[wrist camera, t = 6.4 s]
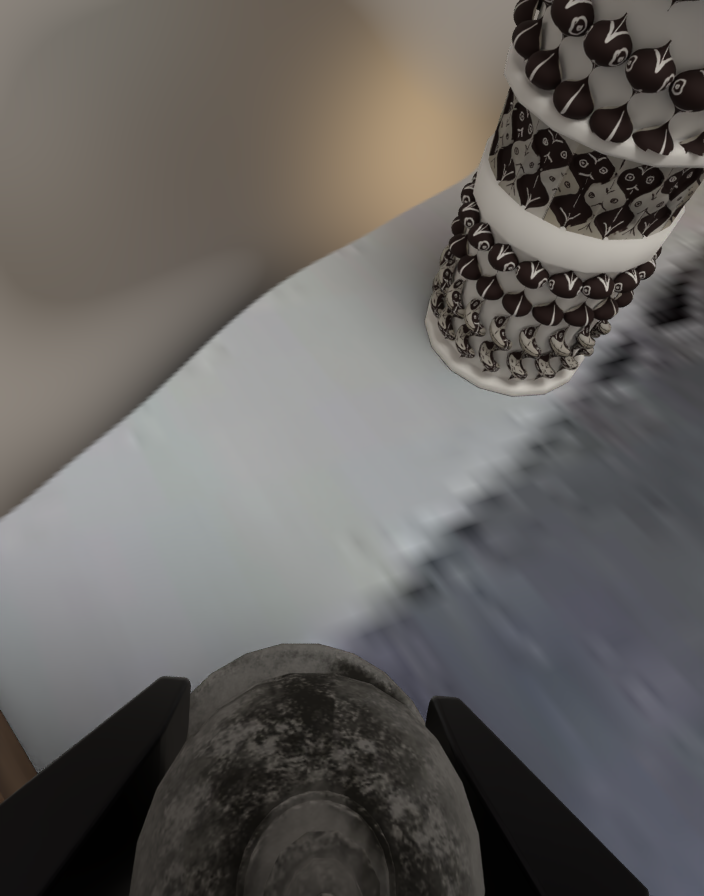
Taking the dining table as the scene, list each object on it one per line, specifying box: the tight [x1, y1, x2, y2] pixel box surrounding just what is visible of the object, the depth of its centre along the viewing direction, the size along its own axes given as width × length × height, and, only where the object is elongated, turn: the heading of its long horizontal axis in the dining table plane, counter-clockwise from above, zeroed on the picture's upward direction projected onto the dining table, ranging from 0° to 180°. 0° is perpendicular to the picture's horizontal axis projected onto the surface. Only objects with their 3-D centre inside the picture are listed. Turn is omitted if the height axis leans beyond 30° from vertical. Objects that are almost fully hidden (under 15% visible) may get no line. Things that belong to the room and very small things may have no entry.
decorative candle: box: [425, 0, 704, 397], centre depth 17 cm, size 9×9×25 cm
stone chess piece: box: [129, 644, 485, 896], centre depth 8 cm, size 6×6×12 cm
